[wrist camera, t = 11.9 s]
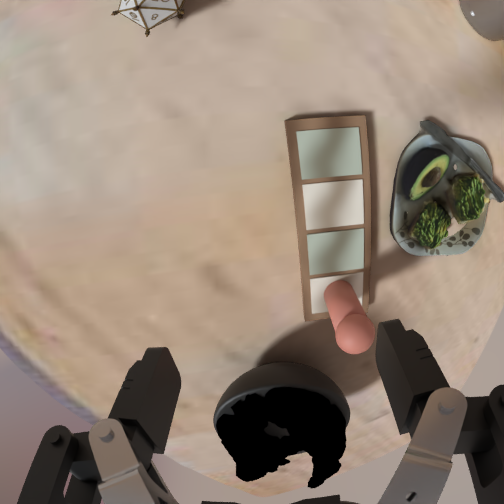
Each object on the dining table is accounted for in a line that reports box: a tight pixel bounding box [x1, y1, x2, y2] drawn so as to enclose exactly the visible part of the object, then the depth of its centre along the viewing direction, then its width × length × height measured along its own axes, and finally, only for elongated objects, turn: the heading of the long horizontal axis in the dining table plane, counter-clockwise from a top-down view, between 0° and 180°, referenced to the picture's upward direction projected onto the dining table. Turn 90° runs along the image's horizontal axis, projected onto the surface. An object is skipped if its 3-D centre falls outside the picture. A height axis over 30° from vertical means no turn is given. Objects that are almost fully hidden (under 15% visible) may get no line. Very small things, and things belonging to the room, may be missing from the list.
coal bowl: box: [213, 362, 350, 488], centre depth 40 cm, size 20×20×19 cm
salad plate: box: [390, 120, 504, 256], centre depth 33 cm, size 19×18×5 cm
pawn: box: [324, 280, 375, 354], centre depth 34 cm, size 4×4×11 cm
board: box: [285, 115, 371, 321], centre depth 36 cm, size 9×26×2 cm, turn 8°
